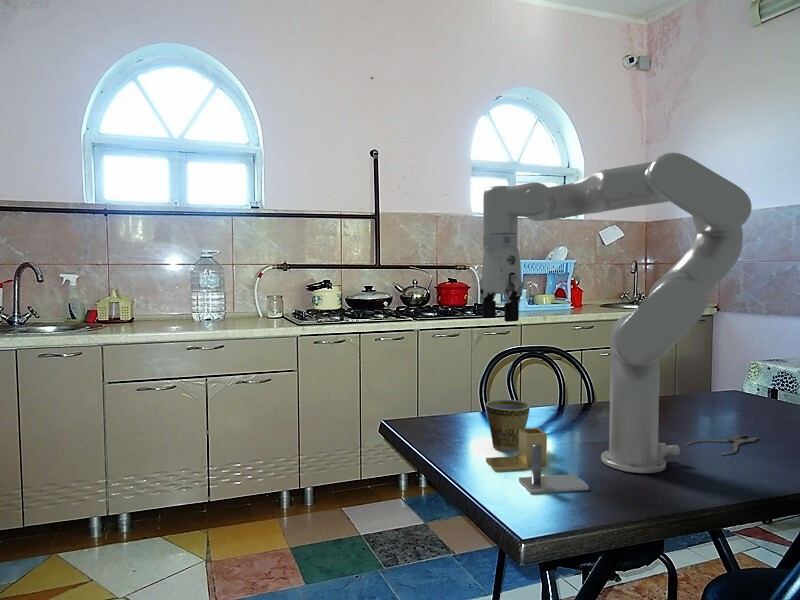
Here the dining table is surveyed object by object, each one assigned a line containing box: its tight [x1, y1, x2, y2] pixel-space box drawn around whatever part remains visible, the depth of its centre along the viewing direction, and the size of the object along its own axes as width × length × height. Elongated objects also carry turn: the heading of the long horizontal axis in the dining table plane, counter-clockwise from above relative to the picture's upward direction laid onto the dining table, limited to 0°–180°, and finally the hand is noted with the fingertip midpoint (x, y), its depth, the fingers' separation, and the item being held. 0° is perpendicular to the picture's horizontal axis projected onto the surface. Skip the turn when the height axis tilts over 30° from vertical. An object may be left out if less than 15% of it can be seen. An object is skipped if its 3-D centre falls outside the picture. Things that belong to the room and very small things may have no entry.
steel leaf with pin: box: [518, 444, 590, 495], centre depth 106 cm, size 11×6×8 cm, turn 98°
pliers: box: [685, 434, 760, 456], centre depth 132 cm, size 10×1×20 cm
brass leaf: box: [485, 427, 548, 472], centre depth 117 cm, size 11×6×7 cm, turn 98°
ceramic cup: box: [485, 399, 531, 453], centre depth 131 cm, size 13×10×10 cm
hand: (499, 319), depth 126 cm, fingers open, 9 cm apart
